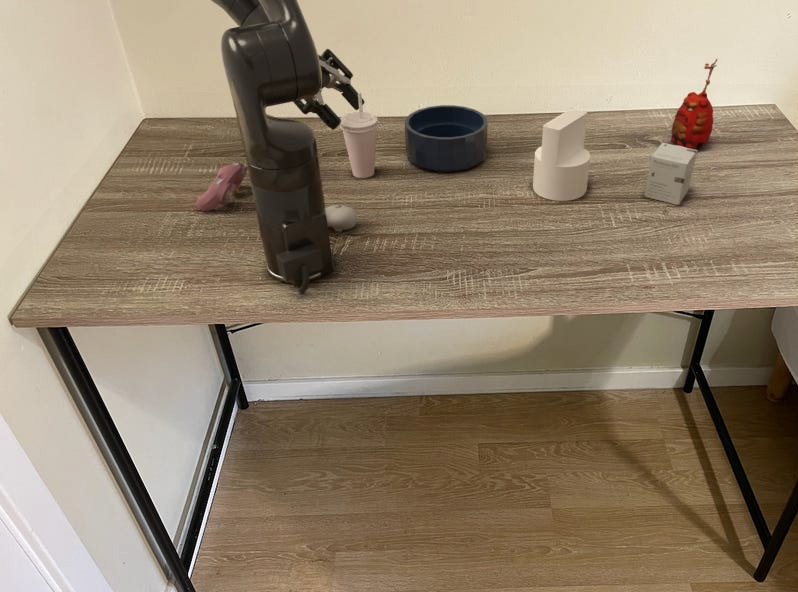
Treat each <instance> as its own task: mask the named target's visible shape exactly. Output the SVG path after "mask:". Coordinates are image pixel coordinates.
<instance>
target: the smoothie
mask: <svg viewBox="0 0 798 592" xmlns="http://www.w3.org/2000/svg"><path fill="white" fill-rule="evenodd" d="M357 93H358V101H359V109H358V111H356V112H350V113H346V114H344V115H342V116H341V117H339V118H340V119H341V123H340V124H339V128H340V129H341V130H342V133H343V134H342V135H343V138H344V142H345V147H346V151H347V154H348V155H347V156H348V158H349V164H350V167H351V172H352V175H353V176H354V177H355V178H357V179H367V178H368V179H369V178H371V177H373V176H374V175H375V166H376V165H375V164H376V148H377V147H376V143H377V127H378V126H379V120H378V117H377V115H375V114H374V113H371V112H368V111H367V112H365V111H364V110H363V109H364V108H363V105H362V99H363V97H362V92H357Z"/></svg>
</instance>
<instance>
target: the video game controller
mask: <svg viewBox="0 0 798 592" xmlns="http://www.w3.org/2000/svg"><path fill="white" fill-rule="evenodd" d="M247 172H248V167H247V165H244V164H242V163H240V162H236V161H234V160H233V161H232V162H231V163H230V164H227V165H224V166H223V167H221V168H219V170H218V172H217V175H216V177H215V178H214V179H213V181H212V182H211V184H210V185H209V187H208V189H207V190H206V191H205V192H204V193H202V195H200V196H199V197H198V198H197V200H196V203H195V204H196V208H197V209H198V210H199V211H201V212H209V211H212V210H214V209H215V208H217V207H218V206H219V205H222V206H223V207H224V206H226V205H227V204H228V202H229V200H230V198H232V197H234V196H235V195H236V194H238V193H239V191H240V189H239V188H240V186H241V184H242V183H243V181H244V179H245V177H246V175H247Z"/></svg>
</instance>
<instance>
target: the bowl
mask: <svg viewBox="0 0 798 592" xmlns="http://www.w3.org/2000/svg"><path fill="white" fill-rule="evenodd" d="M404 134H405V135H404V136H405V137H404V138H405V139H404V140H405V155H406V157H407V158H408V160H409V161H410V162H411V163H413V164H414V165H416V166H418V167H420V168H423V169H425V170H428V171H433V172H440V173H452V172H453V173H455V172H461V171H465V170H468V169H470V168H472V167H474V166H477V165H478V164H479V163H481V162H483V161H484V160H485V159H486V157H487V156H488V117H486V115H485V114H484V113H482V112H481V111H479V110H477V109H474V108H470V107H468V106H464V105H463V106H462V105H454V104H453V105H452V104H443V105H442V104H441V105H433V106H426V107H423V108H420V109H417V110H415V111H413V112H411V113H410V114H408V116H406V117H405V119H404Z"/></svg>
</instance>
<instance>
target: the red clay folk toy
mask: <svg viewBox="0 0 798 592" xmlns="http://www.w3.org/2000/svg"><path fill="white" fill-rule="evenodd" d="M717 62H718V58H715V61H713V62H712V63H711V64H709V63H708V62H706V63H705V64H704V70H709V72H708V76H707V79H705V85H704V88H703V89H702V91H701V92H700V93H699V94H698V93H696V92H695V91H691V92H689V93H688V94H687V95H686V97H684V99H683V102H682V104H681V105H680V107H679V108H678V109H677V112H676V114H675V115H674V120H673V122H672V127H671V138H670V140H671V142H673V143H676V145H678V146H682V147H685V148H690V149H694V150H696V149H701V148H703V147H705V146H706V145H707V144H708V142H710V141H709V140H710V137H711V135H712V132H713V124H714V108H713V106H712V103H711V101H710V100H709V98H708V93H707V89H708V86H709V85H710V84H711V80H710V78H711V76H712V73H713V71H714V68H715V67H717V64H716V63H717Z"/></svg>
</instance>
